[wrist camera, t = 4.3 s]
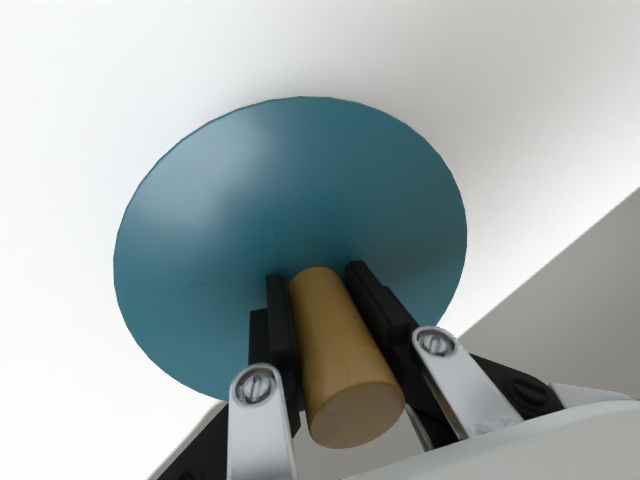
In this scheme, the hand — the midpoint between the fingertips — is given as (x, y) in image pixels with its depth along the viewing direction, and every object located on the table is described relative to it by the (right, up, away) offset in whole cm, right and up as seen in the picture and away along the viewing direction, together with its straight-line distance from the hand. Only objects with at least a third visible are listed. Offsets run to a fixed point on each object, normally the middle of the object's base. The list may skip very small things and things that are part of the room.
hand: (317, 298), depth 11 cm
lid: (0, 0, +1) cm, 1 cm away
